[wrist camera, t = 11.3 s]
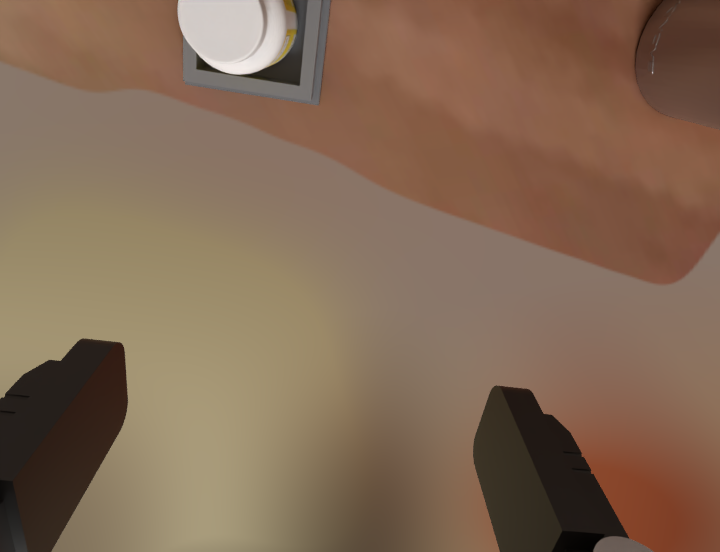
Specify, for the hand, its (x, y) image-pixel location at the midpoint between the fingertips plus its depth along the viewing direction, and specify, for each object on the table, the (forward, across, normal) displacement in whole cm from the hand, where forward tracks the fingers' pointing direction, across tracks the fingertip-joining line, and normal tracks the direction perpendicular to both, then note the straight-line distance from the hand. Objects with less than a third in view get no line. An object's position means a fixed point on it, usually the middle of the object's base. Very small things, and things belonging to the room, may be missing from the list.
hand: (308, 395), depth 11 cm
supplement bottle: (+27, +6, -7) cm, 29 cm away
